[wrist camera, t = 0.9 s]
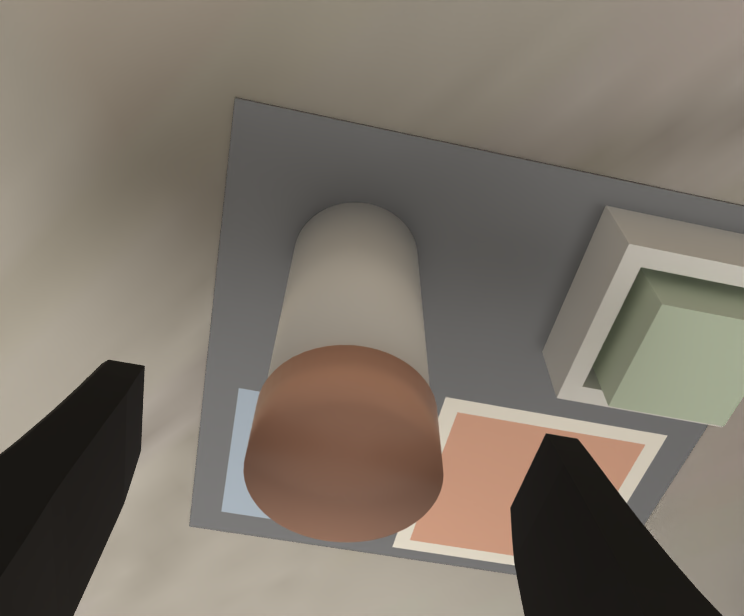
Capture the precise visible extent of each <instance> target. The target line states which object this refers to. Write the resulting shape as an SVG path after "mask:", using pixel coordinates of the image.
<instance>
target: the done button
mask: <svg viewBox="0 0 744 616" xmlns="http://www.w3.org/2000/svg"><path fill="white" fill-rule="evenodd" d="M593 369H594V371H595V374H596V376H597V379H598V381H599V384H600V386H601V389H602V391H603V394H604V396H605V399H606V401H607V404H608V406H610V407H616V408H622V409H627V410H633V411H639V412H644V413H650V414H655V415H661V416H667V417H672V418H678V419H684V420H689V421H695V422H701V423H706V424H712V425H718V426H723V427H724V425H725V424H726V422H727V421H728V419H729V418H730V416H731V415H732V413H733V412H734V410H735V409H736V407H737V406H738V404H739V403H740V401H741V400H742V398H743V397H744V288H743V287H738V286H733V285H728V284H723V283H718V282H713V281H708V280H703V279H698V278H693V277H688V276H683V275H678V274H673V273H668V272H663V271H658V270H653V269H648V268H643V267H641V268H640V270H639V272H638V274H637V276H636V278H635V280H634V282H633V284H632V286H631V288H630V290H629V292H628V294H627V296H626V298H625V300H624V303H623V305H622V307H621V309H620V311H619V313H618V315H617V317H616V319H615V321H614V323H613V325H612V327H611V329H610V331H609V333H608V335H607V337H606V339H605V341H604V343H603V345H602V347H601V349H600V351H599V353H598V356H597V358H596V360H595V362H594V364H593Z"/></svg>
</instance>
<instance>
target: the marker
mask: <svg viewBox="0 0 744 616" xmlns="http://www.w3.org/2000/svg"><path fill="white" fill-rule="evenodd" d="M243 473H244V481H245V484H246V487H247V490H248V492H249V494H250V496H251V498H252V499H253V501H254V502H255V504H256V505H257V506H258V507H259V508H260V509H261V510H262V512H263V513H264V514H266V515H267V516H268V517H269V518H271V519H272V520H273V521H275V522H276V523H278V524H279V525H281V526H282V527H284V528H286V529H288V530H290V531H293V532H295V533H298V534H300V535H303V536H306V537H310V538H314V539H318V540H324V541H331V542H363V541H369V540H375V539H379V538H383V537H387V536H389V535H392V534H395V533H397V532H400V531H402V530H404V529H406V528H408V527H409V526H411V525H412V524H414V523H416V522H417V521H418V520H419V519H421V518H422V517H423V516H424V515H425V514H426V513H427V512H428V511H429V510H430V509H431V508H432V506H433V505H434V503H435V502H436V500H437V498H438V496H439V494H440V492H441V488H442V485H443V476H444V473H443V462H442V452H441V442H440V433H439V423H438V413H437V405H436V401H435V397H434V395H433V393H432V390H431V388H430V385H429V374H428V363H427V352H426V341H425V330H424V319H423V308H422V297H421V286H420V275H419V264H418V253H417V247H416V243H415V240H414V238H413V235H412V234H411V232H410V230H409V229H408V227H407V226H406V225H405V224H404V223H403V222H402V221H401V220H400V219H399V218H398V217H397V216H395V215H394V214H393V213H391V212H389V211H387V210H386V209H383V208H381V207H378V206H375V205H372V204H367V203H355V202H351V203H343V204H338V205H334V206H332V207H329V208H326V209H324V210H323V211H321V212H319V213H318V214H316V215H315V216H313V217H312V218H311V219H310V220H309V221H308V222H307V223H306V224H305V226H304V227H303V228H302V230H301V232H300V233H299V235H298V238H297V240H296V244H295V248H294V253H293V258H292V263H291V267H290V272H289V277H288V282H287V287H286V292H285V296H284V301H283V306H282V311H281V316H280V320H279V325H278V330H277V335H276V340H275V345H274V349H273V354H272V359H271V364H270V369H269V373H268V378H267V380H266V381H265V383H264V385H263V386H262V389H261V391H260V393H259V396H258V400H257V404H256V409H255V414H254V418H253V423H252V428H251V432H250V437H249V441H248V446H247V451H246V455H245V460H244V469H243Z"/></svg>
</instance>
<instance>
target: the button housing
mask: <svg viewBox="0 0 744 616" xmlns="http://www.w3.org/2000/svg"><path fill="white" fill-rule="evenodd" d="M641 267H643V268H648V269H653V270H658V271H663V272H668V273H673V274H678V275H683V276H688V277H693V278H698V279H703V280H708V281H713V282H718V283H723V284H728V285H733V286H738V287H743V288H744V234H740V233H735V232H731V231H726V230H721V229H716V228H711V227H707V226H702V225H697V224H692V223H687V222H683V221H678V220H673V219H668V218H663V217H659V216H654V215H649V214H644V213H639V212H635V211H630V210H625V209H620V208H615V207H611V206H605V208H604V211H603V213H602V215H601V217H600V220H599V222H598V224H597V227H596V229H595V231H594V234H593V236H592V238H591V241H590V243H589V245H588V247H587V250H586V252H585V254H584V257H583V259H582V261H581V264H580V266H579V268H578V270H577V273H576V275H575V277H574V280H573V282H572V284H571V287H570V289H569V291H568V293H567V296H566V298H565V300H564V303H563V305H562V307H561V310H560V312H559V314H558V316H557V319H556V321H555V323H554V326H553V328H552V330H551V333H550V335H549V337H548V339H547V342H546V344H545V346H544V349H543V351H542V353H543V356H544V359H545V362H546V366H547V369H548V372H549V375H550V378H551V382H552V385H553V388H554V391H555V394H556V398H559V399H565V400H570V401H576V402H582V403H587V404H593V405H599V406H604V407H610V406H608V404H607V401H606V399H605V396H604V394H603V391H602V389H601V386H600V384H599V381H598V379H597V376H596V374H595V371H594V369H593V364H594V362H595V360H596V358H597V356H598V353H599V351H600V349H601V347H602V345H603V343H604V341H605V339H606V337H607V335H608V333H609V331H610V329H611V327H612V325H613V323H614V321H615V319H616V317H617V315H618V313H619V311H620V309H621V307H622V305H623V303H624V300H625V298H626V296H627V294H628V292H629V290H630V288H631V286H632V284H633V282H634V280H635V278H636V276H637V274H638V272H639V270H640V268H641ZM610 408H616V407H610ZM616 409H621V410H627V409H622V408H616ZM627 411H633V410H627ZM633 412H638V413H644V412H639V411H633ZM644 414H650V413H644ZM650 415H655V414H650ZM655 416H661V415H655ZM661 417H667V416H661ZM667 418H672V417H667ZM672 419H678V418H672ZM678 420H684V419H678ZM684 421H689V420H684ZM689 422H695V421H689ZM695 423H701V422H695ZM701 424H706V423H701ZM706 425H712V424H706ZM712 426H718V425H712ZM718 427H723V426H718Z"/></svg>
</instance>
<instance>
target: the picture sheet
mask: <svg viewBox="0 0 744 616" xmlns="http://www.w3.org/2000/svg"><path fill="white" fill-rule="evenodd" d="M351 202H355V203H367V204H372V205H375V206H378V207H381V208H383V209H386V210H387V211H389V212H391V213H393V214H394V215H395V216H397V217H398V218H399V219H400V220H401V221H402V222H403V223H404V224H405V225H406V226H407V227H408V229H409V230H410V232H411V234H412V235H413V238H414V240H415V243H416V247H417V253H418V264H419V275H420V286H421V297H422V308H423V319H424V330H425V341H426V352H427V363H428V374H429V385H430V388H431V390H432V393H433V395H434V397H435V401H436V405H437V413H438V423H439V433H440V442H441V452H442V462H443V473H444V476H443V485H442V488H441V492H440V494H439V496H438V498H437V500H436V502H435V503H434V505H433V506H432V508H431V509H430V510H429V511H428V512H427V513H426V514H425V515H424V516H423V517H422V518H421V519H419V520H418V521H417V522H416V523H414V524H412V525H411V526H409V527H408V528H406V529H404V530H402V531H400V532H397V533H395V534H392V535H389V536H387V537H383V538H379V539H375V540H369V541H363V542H331V541H324V540H318V539H314V538H310V537H306V536H303V535H300V534H298V533H295V532H293V531H290V530H288V529H286V528H284V527H282V526H281V525H279V524H278V523H276V522H275V521H273V520H272V519H271V518H269V517H268V516H267V515H266V514H264V513H263V512H262V510H261V509H260V508H259V507H258V506H257V505H256V504H255V502H254V501H253V499H252V498H251V496H250V494H249V492H248V490H247V487H246V484H245V481H244V473H243V469H244V460H245V455H246V451H247V446H248V441H249V437H250V432H251V428H252V423H253V418H254V414H255V409H256V404H257V400H258V396H259V393H260V391H261V389H262V386H263V385H264V383H265V381H266V380H267V378H268V373H269V369H270V364H271V359H272V354H273V349H274V345H275V340H276V335H277V330H278V325H279V320H280V316H281V311H282V306H283V301H284V296H285V292H286V287H287V282H288V277H289V272H290V267H291V263H292V258H293V253H294V248H295V244H296V240H297V238H298V235H299V233H300V232H301V230H302V228H303V227H304V226H305V224H306V223H307V222H308V221H309V220H310V219H311V218H312V217H313V216H315V215H316V214H318V213H319V212H321V211H323V210H324V209H326V208H329V207H332V206H334V205H338V204H343V203H351ZM605 206H611V207H615V208H620V209H625V210H630V211H635V212H639V213H644V214H649V215H654V216H659V217H663V218H668V219H673V220H678V221H683V222H687V223H692V224H697V225H702V226H707V227H711V228H716V229H721V230H726V231H731V232H735V233H740V234H744V205H739V204H734V203H730V202H725V201H720V200H716V199H711V198H706V197H702V196H697V195H692V194H687V193H683V192H678V191H673V190H669V189H664V188H659V187H655V186H650V185H645V184H640V183H636V182H631V181H626V180H622V179H617V178H612V177H608V176H603V175H598V174H594V173H589V172H584V171H579V170H575V169H570V168H565V167H561V166H556V165H551V164H547V163H542V162H537V161H532V160H528V159H523V158H518V157H514V156H509V155H504V154H500V153H495V152H490V151H486V150H481V149H476V148H471V147H467V146H462V145H457V144H453V143H448V142H443V141H439V140H434V139H429V138H424V137H420V136H415V135H410V134H406V133H401V132H396V131H392V130H387V129H382V128H378V127H373V126H368V125H363V124H359V123H354V122H349V121H345V120H340V119H335V118H331V117H326V116H321V115H316V114H312V113H307V112H302V111H298V110H293V109H288V108H284V107H279V106H274V105H269V104H265V103H260V102H255V101H251V100H246V99H241V98H237V97H235V102H234V112H233V121H232V130H231V140H230V149H229V158H228V168H227V177H226V187H225V196H224V205H223V215H222V224H221V234H220V243H219V252H218V262H217V271H216V281H215V290H214V299H213V309H212V318H211V327H210V337H209V346H208V356H207V365H206V374H205V384H204V393H203V403H202V412H201V421H200V431H199V440H198V449H197V459H196V468H195V478H194V487H193V496H192V506H191V515H190V525H189V526H190V527H197V528H203V529H210V530H217V531H224V532H230V533H237V534H244V535H251V536H257V537H264V538H271V539H278V540H284V541H291V542H298V543H305V544H311V545H318V546H325V547H332V548H338V549H345V550H352V551H359V552H365V553H372V554H379V555H385V556H392V557H399V558H406V559H412V560H419V561H426V562H433V563H439V564H446V565H453V566H460V567H466V568H473V569H480V570H487V571H493V572H500V573H507V574H514V575H516V569H515V564H514V556H513V544H512V530H511V513H510V507H511V505H512V503H513V501H514V499H515V497H516V495H517V493H518V491H519V488H520V486H521V484H522V482H523V480H524V478H525V476H526V474H527V472H528V470H529V468H530V465H531V463H532V461H533V459H534V457H535V455H536V453H537V451H538V449H539V447H540V444H541V442H542V440H543V438H544V436H545V434H546V433H547V434H553V435H559V436H565V437H571V438H577V439H578V440H579V441H580V442H581V443H582V445H583V446H584V447H585V448H586V450H587V451H588V452H589V454H590V455H591V456H592V458H593V459H594V460H595V461H596V463H597V464H598V465H599V467H600V468H601V470H602V471H603V472H604V474H605V475H606V476H607V478H608V479H609V480H610V482H611V483H612V484H613V486H614V487H615V488H616V490H617V491H618V492H619V494H620V495H621V496H622V498H623V499H624V500H625V502H626V503H627V504H628V505H629V507H630V508H631V509H632V511H633V512H634V513H635V515H636V516H637V517H638V518H639V520H640V521H641V522H642V524H643V525H644V524H645V523H646V521H647V520H648V518H649V517H650V515H651V513H652V512H653V510H654V509H655V507H656V506H657V504H658V503H659V501H660V499H661V498H662V496H663V495H664V493H665V492H666V490H667V489H668V487H669V485H670V484H671V482H672V481H673V479H674V478H675V476H676V475H677V473H678V471H679V470H680V468H681V467H682V465H683V464H684V462H685V461H686V459H687V457H688V456H689V454H690V453H691V451H692V450H693V448H694V447H695V445H696V443H697V442H698V440H699V439H700V437H701V436H702V434H703V433H704V431H705V430H706V428H707V426H708V425H706V424H701V423H695V422H689V421H684V420H678V419H672V418H667V417H661V416H655V415H650V414H644V413H638V412H633V411H627V410H621V409H616V408H610V407H604V406H599V405H593V404H587V403H582V402H576V401H570V400H565V399H559V398H556V394H555V391H554V388H553V385H552V382H551V378H550V375H549V372H548V369H547V366H546V362H545V359H544V356H543V353H542V351H543V349H544V346H545V344H546V342H547V339H548V337H549V335H550V333H551V330H552V328H553V326H554V323H555V321H556V319H557V316H558V314H559V312H560V310H561V307H562V305H563V303H564V300H565V298H566V296H567V293H568V291H569V289H570V287H571V284H572V282H573V280H574V277H575V275H576V273H577V270H578V268H579V266H580V264H581V261H582V259H583V257H584V254H585V252H586V250H587V247H588V245H589V243H590V241H591V238H592V236H593V234H594V231H595V229H596V227H597V224H598V222H599V220H600V217H601V215H602V213H603V211H604V208H605Z"/></svg>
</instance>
